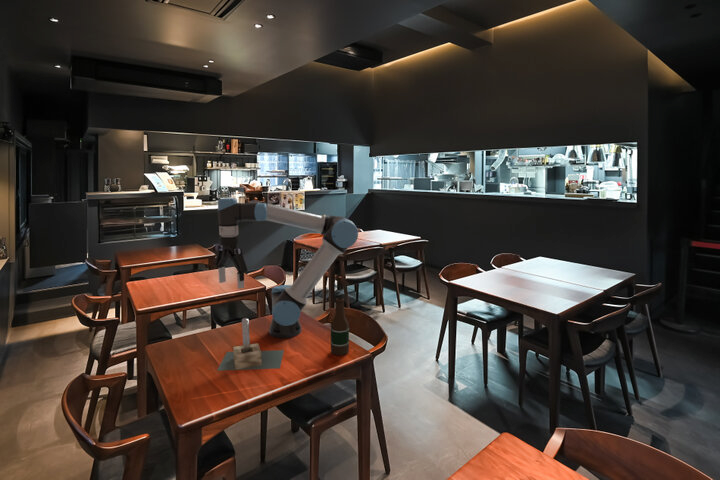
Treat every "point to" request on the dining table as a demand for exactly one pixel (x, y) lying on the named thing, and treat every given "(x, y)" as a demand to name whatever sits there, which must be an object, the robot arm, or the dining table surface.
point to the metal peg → (246, 335)
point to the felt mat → (268, 362)
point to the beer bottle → (339, 330)
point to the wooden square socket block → (247, 357)
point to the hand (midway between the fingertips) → (231, 285)
